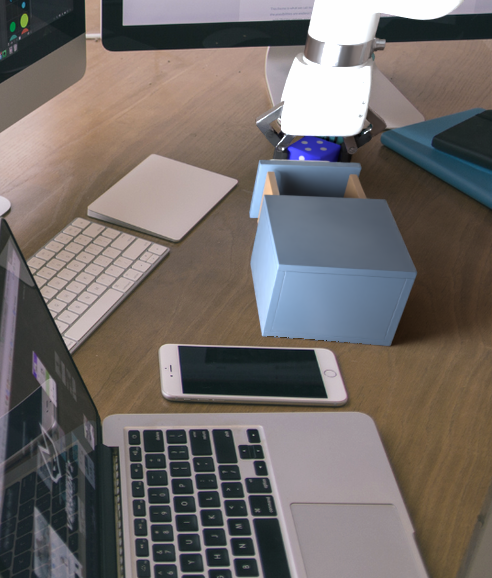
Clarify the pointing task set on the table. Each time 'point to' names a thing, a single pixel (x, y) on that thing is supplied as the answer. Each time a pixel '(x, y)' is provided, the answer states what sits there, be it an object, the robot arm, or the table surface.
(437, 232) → the table surface
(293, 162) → the drawer
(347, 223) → the cabinet
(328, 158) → the die
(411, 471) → the table surface
